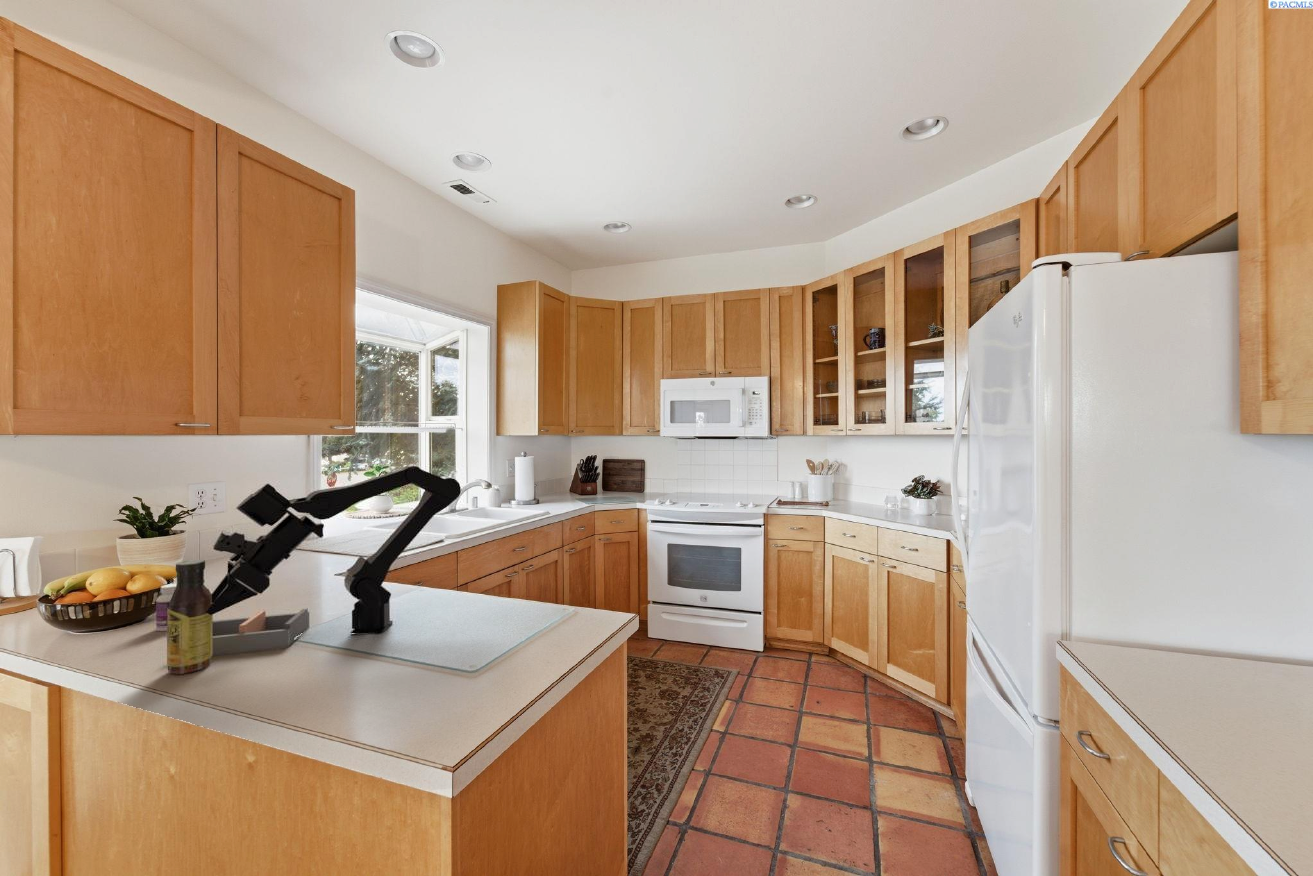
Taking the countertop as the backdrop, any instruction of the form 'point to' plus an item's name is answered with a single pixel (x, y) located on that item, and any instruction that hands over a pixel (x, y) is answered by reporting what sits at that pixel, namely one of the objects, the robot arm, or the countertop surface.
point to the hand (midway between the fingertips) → (208, 607)
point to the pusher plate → (254, 623)
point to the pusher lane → (258, 633)
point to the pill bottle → (163, 606)
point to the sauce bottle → (189, 620)
